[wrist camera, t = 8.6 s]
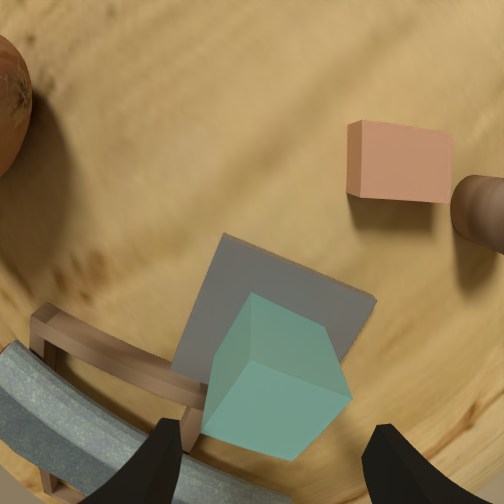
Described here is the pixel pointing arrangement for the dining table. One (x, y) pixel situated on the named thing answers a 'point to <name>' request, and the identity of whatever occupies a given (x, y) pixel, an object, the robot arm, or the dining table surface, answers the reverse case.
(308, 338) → the teal block
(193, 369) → the slate coaster
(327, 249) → the dining table surface
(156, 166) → the dining table surface
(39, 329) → the brown wooden frame
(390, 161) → the terracotta box
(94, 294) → the dining table surface
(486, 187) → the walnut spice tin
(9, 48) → the onion
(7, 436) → the aluminum foil
